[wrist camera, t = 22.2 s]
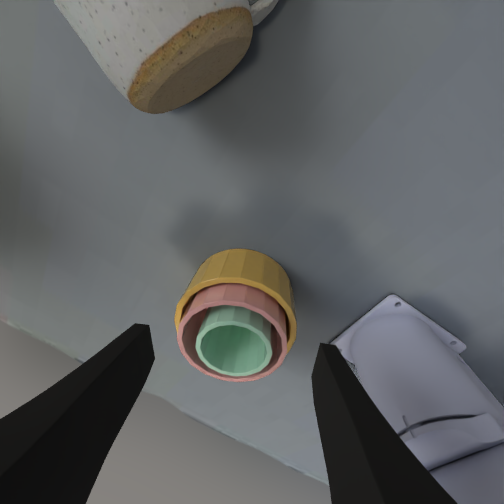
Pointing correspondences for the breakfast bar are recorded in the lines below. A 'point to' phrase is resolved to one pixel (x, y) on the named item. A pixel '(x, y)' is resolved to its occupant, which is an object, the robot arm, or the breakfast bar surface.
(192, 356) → the stack top
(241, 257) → the stack bottom
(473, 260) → the breakfast bar surface
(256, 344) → the mint cup
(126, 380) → the robot arm
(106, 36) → the ceramic mug
